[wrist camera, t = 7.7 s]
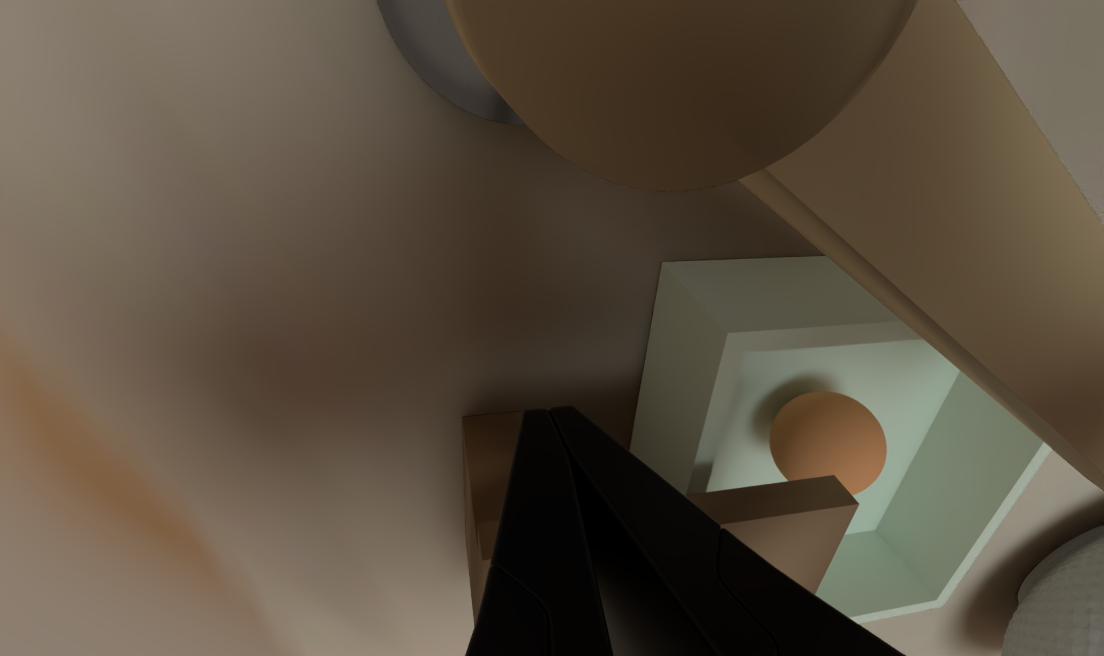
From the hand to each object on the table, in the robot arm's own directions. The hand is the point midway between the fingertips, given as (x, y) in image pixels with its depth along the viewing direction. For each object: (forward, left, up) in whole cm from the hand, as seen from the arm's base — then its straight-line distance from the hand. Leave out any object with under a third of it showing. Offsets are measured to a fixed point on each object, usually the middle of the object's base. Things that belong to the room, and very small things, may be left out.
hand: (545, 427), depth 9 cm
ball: (-11, +6, -5) cm, 13 cm away
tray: (-12, +7, -7) cm, 15 cm away
